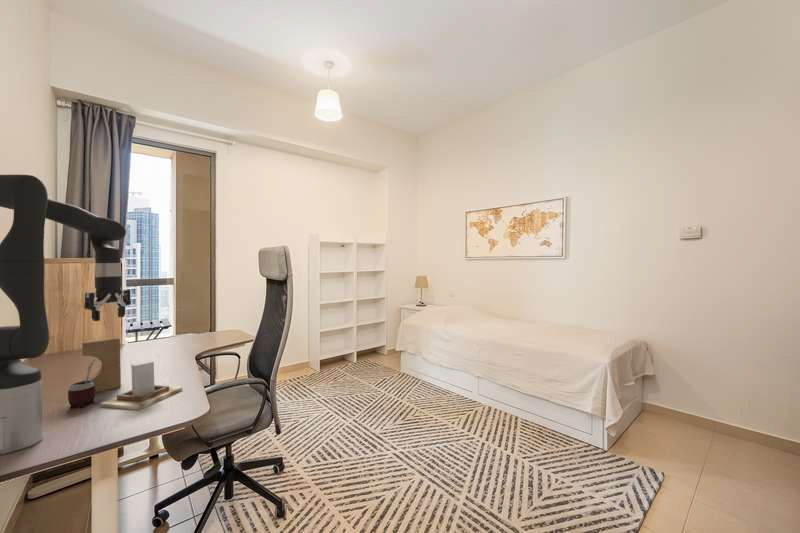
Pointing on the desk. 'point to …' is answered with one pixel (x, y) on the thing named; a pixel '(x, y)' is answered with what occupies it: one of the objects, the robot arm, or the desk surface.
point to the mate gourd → (82, 392)
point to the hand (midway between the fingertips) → (109, 318)
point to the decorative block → (105, 362)
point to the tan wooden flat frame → (140, 398)
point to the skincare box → (142, 378)
